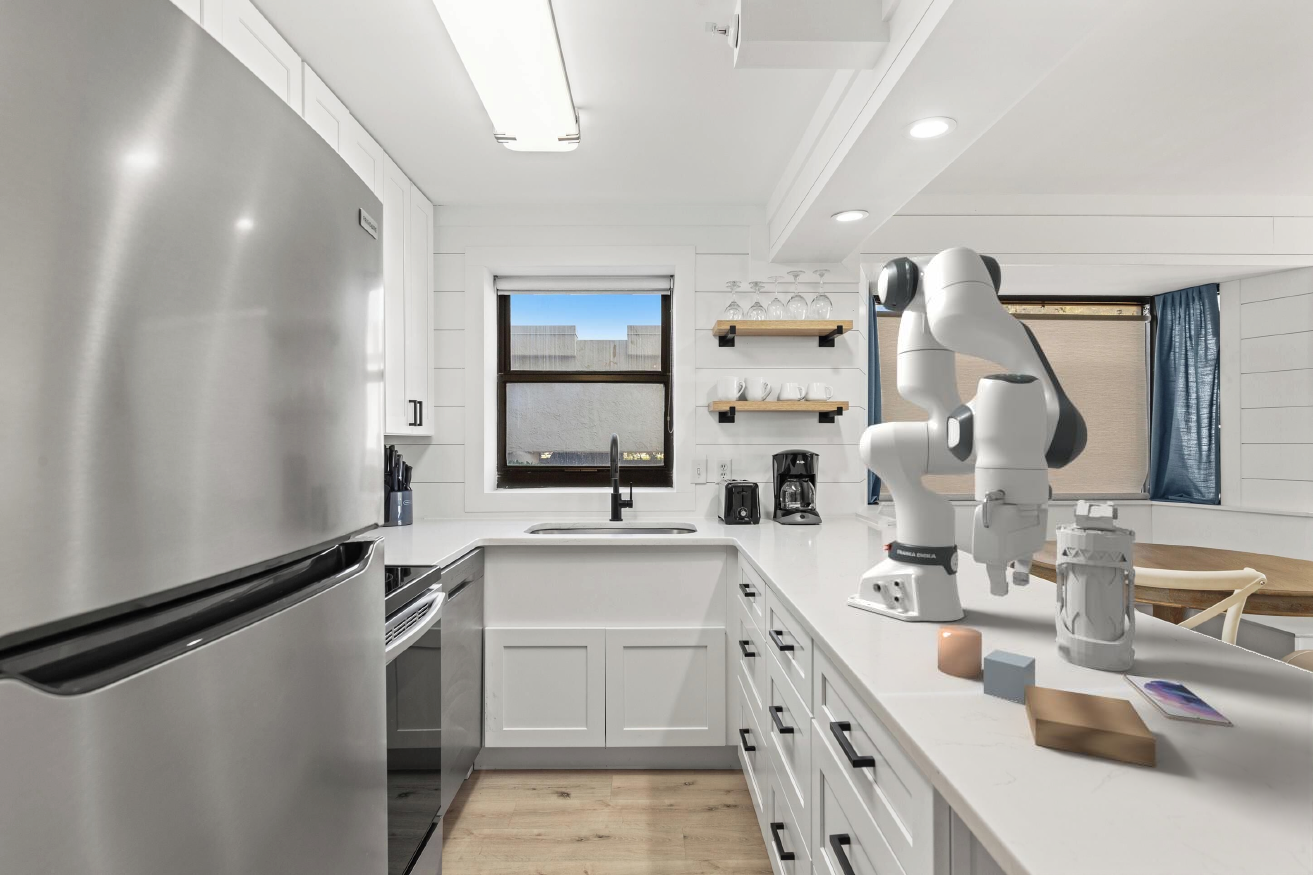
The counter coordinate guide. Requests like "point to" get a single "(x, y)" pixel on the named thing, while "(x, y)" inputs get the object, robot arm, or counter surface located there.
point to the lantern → (1095, 589)
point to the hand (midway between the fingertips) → (1010, 589)
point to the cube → (1008, 675)
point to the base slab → (1089, 725)
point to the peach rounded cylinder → (960, 651)
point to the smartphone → (1176, 701)
